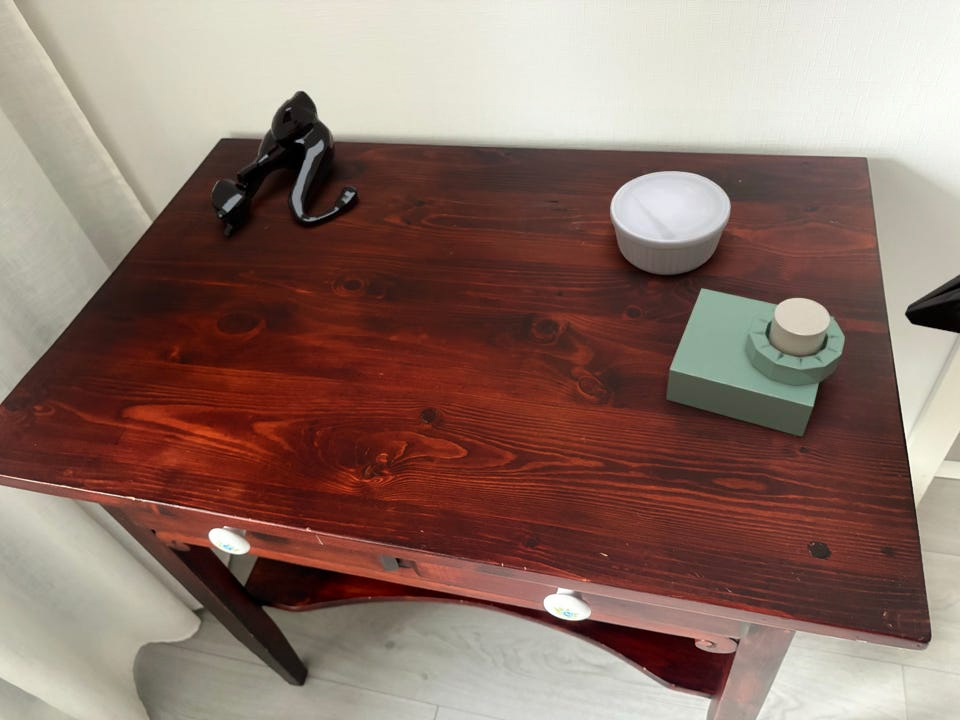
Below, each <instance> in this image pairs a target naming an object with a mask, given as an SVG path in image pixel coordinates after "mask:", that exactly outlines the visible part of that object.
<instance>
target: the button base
mask: <svg viewBox="0 0 960 720" xmlns="http://www.w3.org/2000/svg"><path fill="white" fill-rule="evenodd" d="M778 305H779V304H776V303H771V302H767V301H762V300H758V299H753V298H750V297H749V298H748V297H744V296H739V295H735V294H730V293H726V292H722V291H721V292H720V291H716V290H711V289H707V288H703V287H701V288H700V291H699V293H698V296H697V298H696V301H695V303H694V306H693V308H692V310H691V314H690V315H689V319H688V322H687V324H686V326H685V329H684V332H683V334H682V337H681V338H680V342H679V344H678V346H677V348H676V352H675V354H674V356H673V358H672V362H671V365H670V367H669V370H668V377H667V387H666V394H665V395H666V396H665V399H666V400H667V401H670V402H674V403H678V404H682V405H685V406H687V407H692V408H696V409H700V410H703V411H705V412H710V413H714V414H717V415H721V416H725V417H728V418H732V419H736V420H739V421H743V422H746V423H750V424H753V425H757V426H761V427H764V428H768V429H770V430H771V429H772V430H776V431H779V432H782V433H786V434H789V435H794V436H797V437H801V438H803V437H804V434H805V431H806V429H807V425H808V423H809V420H810V418H811V415H812V412H813V409H814V406H815V401H816V398H817V393H818V388H819V384H820V383H821V382H823V381H824V380H825V379H826V378H828V377H829V376H830V375H832V374H834V373H835V372H836V371H837V369H838V365H839V363H840V360H841V358H842V354H843V350H844V346H845V341H846V337H845V335H844V333H843V331H842V329H841V328H840V326H839V324H838V322H837V320H835V316H831V315H829V316H830V324H829V327H828V330H827V333H826V336H825V339H824V341H823V344H822V347H821V349H820V350H819V351H818V352H817V353H815V354H813V355H811V356H807V357H795V356H791V355H786V354H783V353H781V352H780V351H778V350H777V349H775V348H774V347H773V345H772V344H771V342H770V340H769V331H770V327H771V323H772V319H773V315H774V311H775V309H776V307H777V306H778Z"/></svg>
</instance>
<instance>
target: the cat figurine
mask: <svg viewBox="0 0 960 720" xmlns="http://www.w3.org/2000/svg"><path fill="white" fill-rule="evenodd" d="M313 100H314V99H312V98H311V97H310V95H309V94H308V93H307V92H306V91H304V90H297V91H296V92H295V93H294V94H293V95H292V96H291V98H289V99H286V100H285V101H284V102H283V103H282V104H281V105H280V106H279V107H278V108H277V110H276V111H275V113H274V115H273V117H272V120H271V124H270V128H269V129H268V130H267V131H266V133H264V136H263V138H262V140H261V142H260V145H259V147H258V150H257V151H258V152H257V156H256V157H255V159H254V161H252V162H250V163H248V164H247V165H246V166H244V167H243V168H241V169H240V170H239V171H237V173H236V179H237V182H235V181H234V180H232V179H228V178H222V179H218V180H217V181H216V182H215V184H214V186H213V188H212V190H211V193H210V203H211V205H212V207H213V210H214V212H215V217H216V218H217V219H219V220H220V221H221V222H222V223H223V224H224V225H226V227H225V229H224V231H223V234H224V236H226V237H227V238H229V237H231V236H232V235H233V233H234V230H235V229H236V228H237V227H238V226H239V225H240V224H241V223H242V221H244V219H245V218H246V217H248V215H249V214H250V213H251V211H252V209H253V201H252V199H253V198H254V197H255V196H256V194H257V193H258V191H259V190H260V188H261V186H262V185H263V184H264V182H265V180H266V178H267V177H268V176H270V175H271V174H272V173H273V172H276V171H279V170H283V169H285V170H288V171H290V172H292V171H293V172H294V171H298V173H297V175H296V178H295V180H294V182H293V185H292V187H291V189H290V191H289V193H288V196H287V200H286V201H287V204H288V209H289V210H290V212H291V214H292V216H293V217H294V219H295V220H296V221H297V222H298V223H300V224H302V225H304V226H310V227H311V226H314V225H317V224H320V223H322V222H325V221H328V220H330V219H332V218H335V217H336V216H338V215H339V214H341V213H345V212H349V211H350V210H351V209H352V208H353V206H355V205H356V204H357V202H358V201H359V193H358V189H357V187H355V186H353V185H350V184H349V185H346V186H344V187H343V188H342V190H341V193H340V195H339V196H338V197H337V198H336V200H335V202H334V205H333V207H332V208H330V209H328V210H326V211H324V212H321V213H319V214H316V215H308V214H307V213H306V209H307V206H308V204H309V202H310V200H311V199H312V197H313V196H314V195H315V194H316V192H317V190H318V189H319V187H320V186H321V185H322V183H323V180H325V178H326V176H328V173H329V172H330V170H331V168H332V166H333V164H334V160H335V154H336V146H335V139H334V136H333V134H332V133H333V132H332V131H331V130H330V128H329V127H328V126H327V125H326V124H325V123H324V122H323V121H322V120H320V118H319V115H318V114H319V113H318V109H317V105H316V103H315V102H314V101H313Z"/></svg>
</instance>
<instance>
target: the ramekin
mask: <svg viewBox="0 0 960 720" xmlns="http://www.w3.org/2000/svg"><path fill="white" fill-rule="evenodd" d="M731 206H732V205H731V200H730V198H729V196H728V194H727V193H726V191H724V189H723V188H722V187H721V186H720V185H719V184H717V183H715V182H714V181H713V180H710V179H709V178H707V177H705V176H702V175H700V174H697V173H692V172H687V171H672V170H668V171H667V170H665V171H657V172H650V173H646V174H644V175H641V176H637V177H636V178H634V179H632V180H630V181H628V182H626V183H624V184H623V185H622V186H621V187H620V188H619V189H618V190H617V191H616V193H614V195H613V196H612V199H611V202H610V207H609V216H610V221H611V224H612V225H613V227H614V233H615V235H616V240H617V246H618V248H619V251H620V252H621V254H622V256H623V257H624V258H625V259H626V260H627V261H628V262H629V263H630V264H632V265H633V266H634V267H636V268H637V269H640V270H642V271H644V272H647V273H650V274H655V275H660V276H661V275H662V276H672V275H673V276H675V275H679V274H684V273H685V274H686V273H688V272H690V271H693V270H696V269H697V268H699V267H700V266H702V265H704V264H705V263H707V262H708V260H710V258H711V257H712V256H713V255H714V253H715V251H716V250H717V247H718V245H719V242H720V239H721V238H722V234H723V231H724V229H725V228H726V226H727V225H728V222H729V220H730V216H731V208H732V207H731Z"/></svg>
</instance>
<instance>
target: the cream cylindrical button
mask: <svg viewBox="0 0 960 720" xmlns="http://www.w3.org/2000/svg"><path fill="white" fill-rule="evenodd" d="M777 305H778V306H777V307H776V309H775V311H774V315H773V319H772V323H771V327H770V331H769V340H770V342H771V344H772V345H773V347H774V348H775V349H777V350H778V351H780V352H781V353H783V354H786V355H791V356H795V357H807V356H811V355H813V354H815V353H817V352H818V351H819V350H820V349H821V347H822V344H823V341H824V339H825V336H826V333H827V330H828V327H829V324H830V316H831V315H830V313H829V312H828V310H827V308H825V306H823V305H822V304H821V303H819V302H817V301H814V300H812V299H809V298H804V297H792V298H788V299H785V300H782V301H781V302H779V304H777Z"/></svg>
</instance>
